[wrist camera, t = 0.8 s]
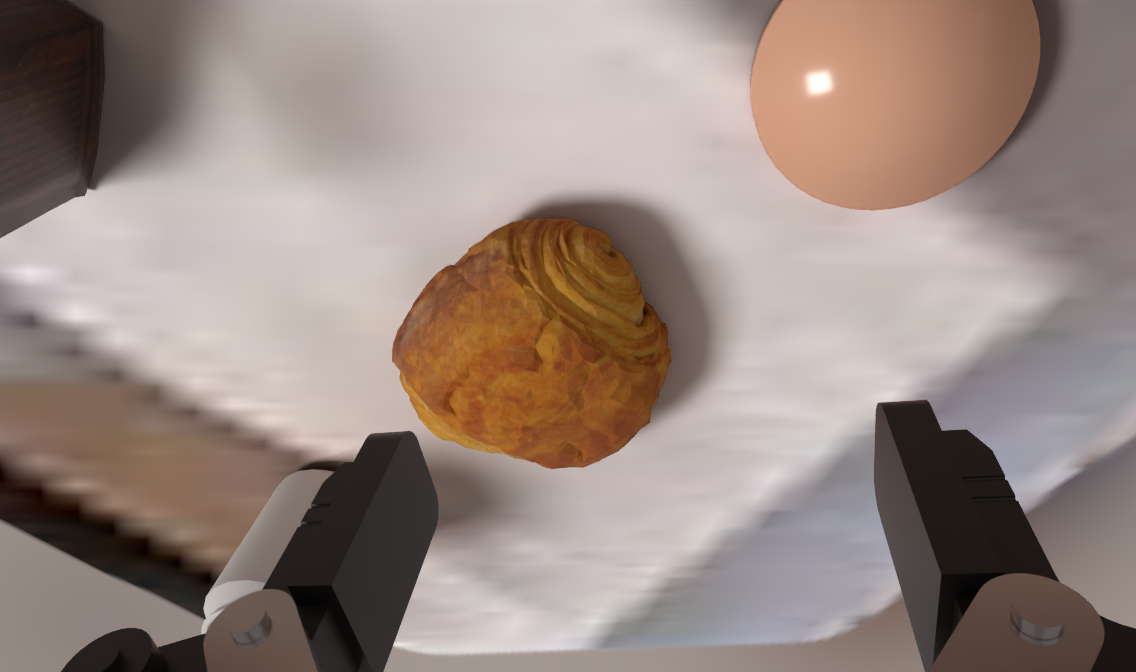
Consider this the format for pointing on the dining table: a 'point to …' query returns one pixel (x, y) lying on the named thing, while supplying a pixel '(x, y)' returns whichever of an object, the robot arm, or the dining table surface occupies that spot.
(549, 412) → the croissant
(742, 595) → the dining table surface
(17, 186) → the black coffee grinder
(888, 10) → the peach round disc
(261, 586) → the can
